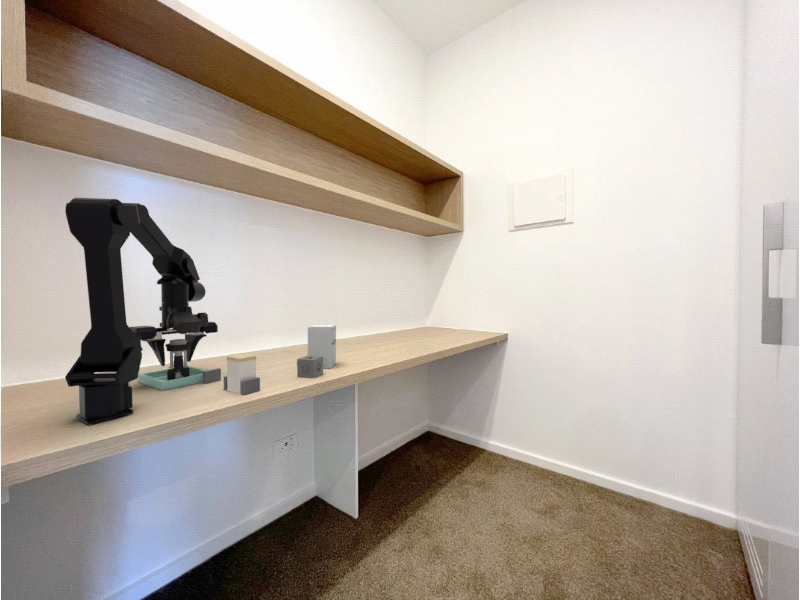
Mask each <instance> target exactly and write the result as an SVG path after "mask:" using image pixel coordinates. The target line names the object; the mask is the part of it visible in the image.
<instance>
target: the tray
mask: <svg viewBox="0 0 800 600" xmlns="http://www.w3.org/2000/svg"><path fill="white" fill-rule="evenodd" d="M187 367H189V368H190V376H188V377H183V378H178V379H173V380H167V379H160V378H166V377H167V375H162V374H167V371H168V369H169V368H165V369H160V370H155V371H150V372H144V373H143V372H141V373H138V378H137V383H140V384H141V385H142V384H143V385H144V386H148V387H150V388H154V389H155V390H156V389H157V390H159V391H163V392H165V391H169V390H174V389H178V388H182V387H187V386H192V385H196V384H201V383H203V371H207V370H206V369H204V368H199V367H195V366H190V365H188V366H187ZM170 369H172V368H170ZM159 375H161V376H159Z"/></svg>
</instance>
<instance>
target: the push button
mask: <svg viewBox="0 0 800 600" xmlns="http://www.w3.org/2000/svg"><path fill="white" fill-rule="evenodd" d="M190 345H191V343H189V342H187V340H186V339H185V338H177V339H170V340H169V343H165V344H164V347H165V348H166V352H169V366H168V368H167V369H168V371H167V374H162V375H167V377H166V378H160V379H167V380H173V379H178V378H183V377H188V376H190V368H189V367H187V366H189V365H188V362H187V350H188V349H190ZM171 368H172V369H171ZM159 376H161V375H159Z"/></svg>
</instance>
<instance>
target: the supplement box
mask: <svg viewBox="0 0 800 600" xmlns="http://www.w3.org/2000/svg"><path fill="white" fill-rule="evenodd" d="M307 355H308V356H323V370H324V369H326V370H329V369H332V368H333V366H335V365H336V362H337V324H313V325H309V326H308V327H307Z"/></svg>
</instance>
